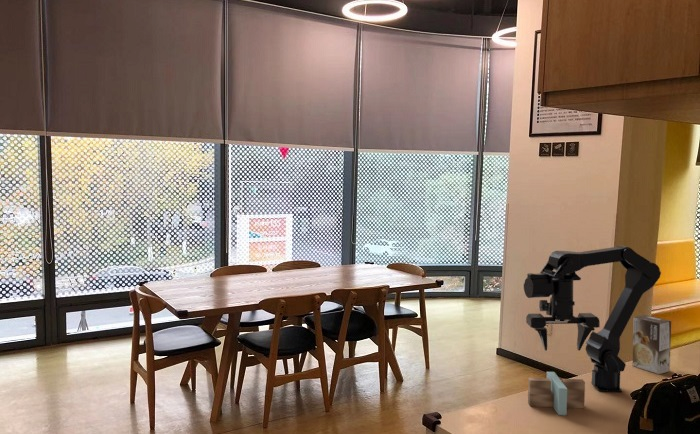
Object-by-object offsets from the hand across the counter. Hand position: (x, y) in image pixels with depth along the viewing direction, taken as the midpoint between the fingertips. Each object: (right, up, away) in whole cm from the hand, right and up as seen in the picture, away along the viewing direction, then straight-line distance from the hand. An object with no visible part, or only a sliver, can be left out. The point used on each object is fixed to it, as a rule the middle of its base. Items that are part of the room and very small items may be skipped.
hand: (562, 350), depth 153 cm
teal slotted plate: (-5, -12, -9) cm, 17 cm away
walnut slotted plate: (-5, -12, -9) cm, 17 cm away
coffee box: (+36, -11, +19) cm, 41 cm away
